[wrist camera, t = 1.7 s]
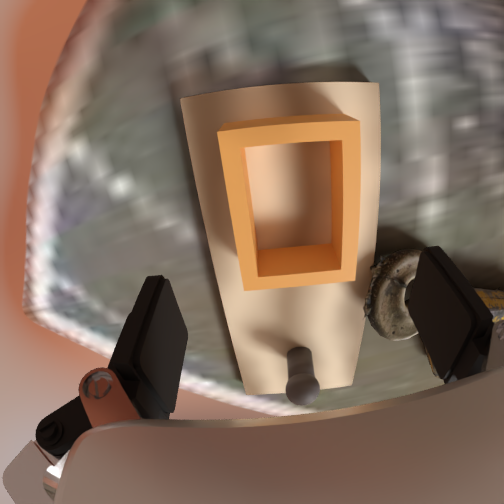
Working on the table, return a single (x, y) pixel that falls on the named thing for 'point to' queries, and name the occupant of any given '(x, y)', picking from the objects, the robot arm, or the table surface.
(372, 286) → the pulley block
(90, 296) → the table surface
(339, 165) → the link
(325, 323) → the keeper board
